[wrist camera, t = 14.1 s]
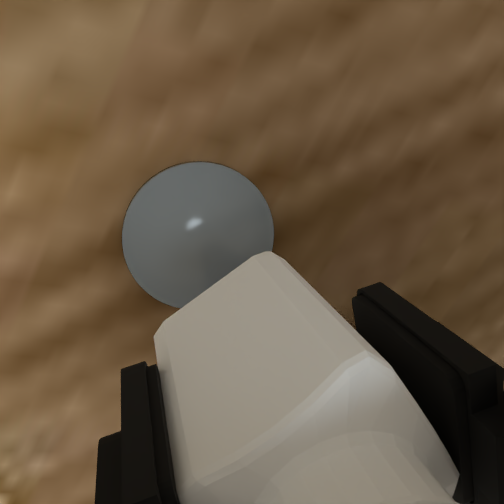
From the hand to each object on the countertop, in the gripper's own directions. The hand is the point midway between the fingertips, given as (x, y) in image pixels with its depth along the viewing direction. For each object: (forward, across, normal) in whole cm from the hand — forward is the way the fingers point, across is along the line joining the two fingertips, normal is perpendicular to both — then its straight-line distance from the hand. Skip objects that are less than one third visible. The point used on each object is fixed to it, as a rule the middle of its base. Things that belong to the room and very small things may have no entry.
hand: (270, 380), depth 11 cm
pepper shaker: (+3, 0, 0) cm, 3 cm away
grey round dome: (+12, 0, 0) cm, 12 cm away
